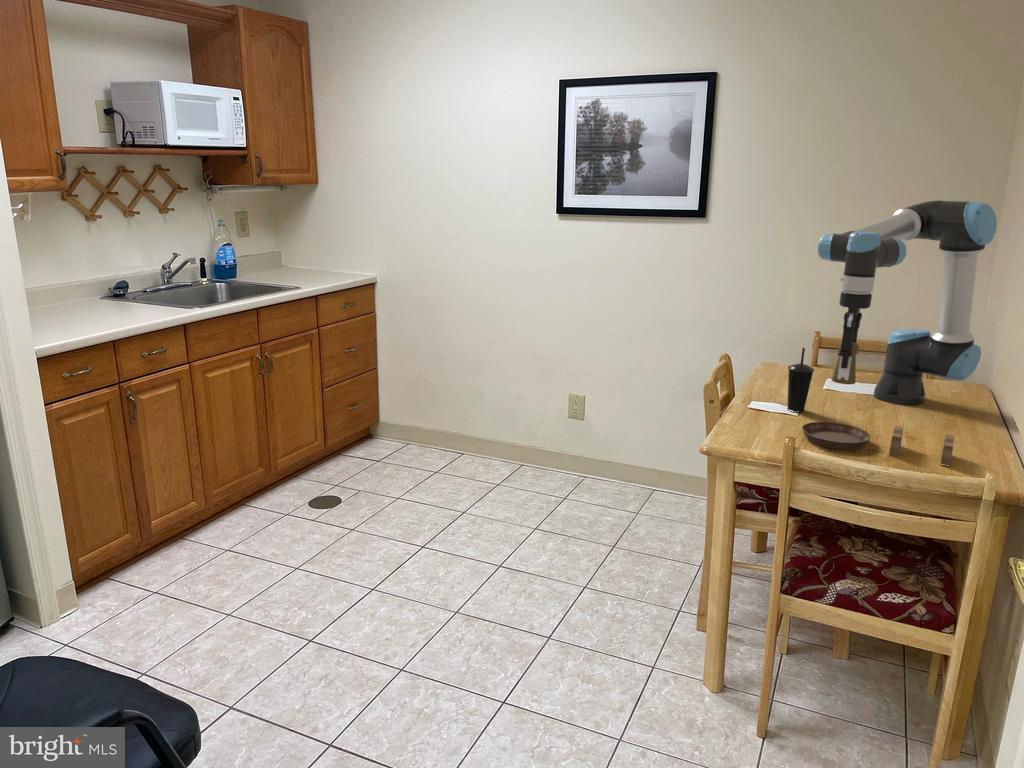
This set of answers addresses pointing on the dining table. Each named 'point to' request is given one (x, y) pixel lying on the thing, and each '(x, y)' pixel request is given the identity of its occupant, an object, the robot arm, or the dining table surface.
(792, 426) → the dining table surface
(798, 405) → the drinking cup
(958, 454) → the dining table surface
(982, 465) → the dining table surface
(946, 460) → the wooden bookends
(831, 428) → the plant saucer
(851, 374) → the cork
